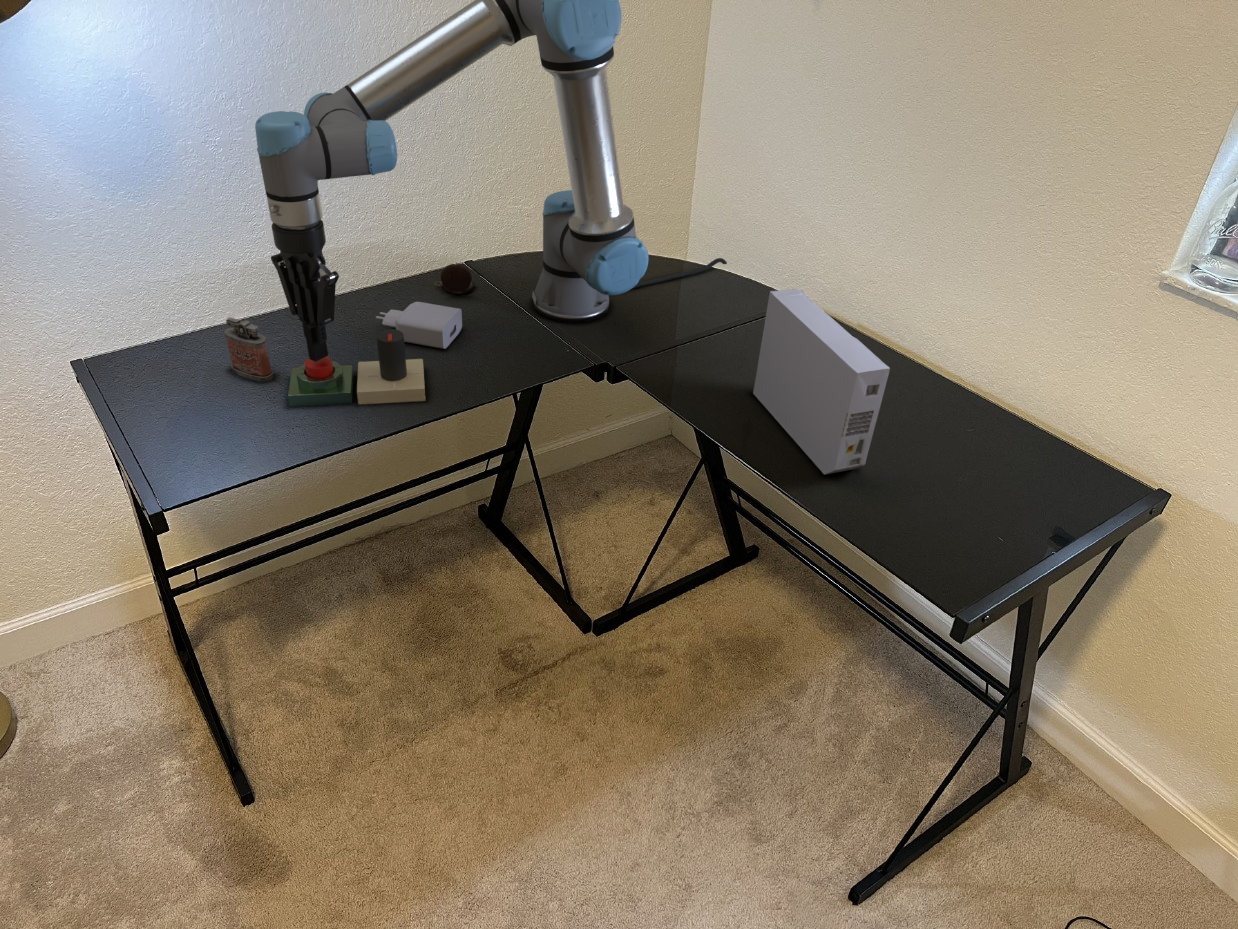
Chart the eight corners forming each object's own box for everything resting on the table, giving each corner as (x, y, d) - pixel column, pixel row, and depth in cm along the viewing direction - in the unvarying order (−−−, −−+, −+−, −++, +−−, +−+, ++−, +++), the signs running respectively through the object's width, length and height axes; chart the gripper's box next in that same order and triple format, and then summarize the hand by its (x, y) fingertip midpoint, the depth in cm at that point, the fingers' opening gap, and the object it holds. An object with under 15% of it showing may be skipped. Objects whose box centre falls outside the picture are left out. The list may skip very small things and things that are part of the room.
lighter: (277, 375, 163) (268, 323, 158) (264, 383, 161) (254, 331, 155) (241, 363, 166) (231, 311, 160) (227, 371, 163) (216, 319, 158)
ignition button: (334, 365, 160) (332, 354, 159) (332, 378, 157) (331, 368, 156) (307, 366, 159) (305, 356, 158) (305, 380, 156) (303, 369, 155)
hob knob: (380, 368, 162) (376, 328, 158) (406, 367, 163) (403, 326, 158) (380, 381, 159) (376, 340, 154) (407, 380, 160) (403, 339, 155)
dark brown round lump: (474, 282, 197) (473, 249, 193) (471, 299, 191) (470, 265, 187) (436, 280, 197) (434, 247, 192) (431, 297, 190) (429, 264, 186)
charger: (389, 316, 183) (462, 329, 181) (368, 337, 176) (443, 351, 173) (387, 293, 180) (461, 306, 178) (365, 314, 173) (442, 328, 170)
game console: (781, 389, 169) (800, 287, 158) (863, 477, 149) (891, 367, 137) (752, 393, 167) (769, 291, 156) (831, 483, 147) (857, 373, 135)
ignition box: (353, 375, 165) (351, 355, 162) (352, 403, 158) (349, 382, 155) (293, 378, 163) (290, 358, 160) (289, 406, 156) (285, 386, 153)
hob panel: (423, 370, 167) (422, 357, 166) (425, 401, 159) (424, 387, 158) (359, 374, 165) (358, 360, 164) (358, 404, 157) (356, 391, 156)
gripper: (247, 217, 143) (274, 353, 157) (307, 239, 137) (328, 379, 151) (287, 203, 148) (309, 336, 162) (346, 224, 142) (363, 360, 156)
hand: (318, 357), depth 156 cm, fingers closed
